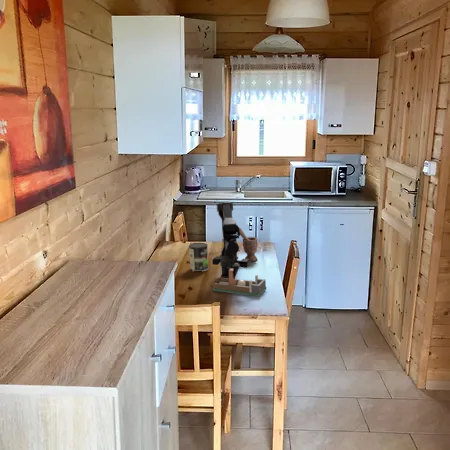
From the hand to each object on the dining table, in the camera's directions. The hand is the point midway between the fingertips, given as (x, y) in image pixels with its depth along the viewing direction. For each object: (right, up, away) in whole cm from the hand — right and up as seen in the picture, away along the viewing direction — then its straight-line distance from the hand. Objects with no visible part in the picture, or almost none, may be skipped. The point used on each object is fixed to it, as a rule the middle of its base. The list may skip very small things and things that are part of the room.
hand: (232, 278), depth 242 cm
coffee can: (-18, +1, +34) cm, 38 cm away
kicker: (-3, -4, +2) cm, 5 cm away
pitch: (+4, -6, 0) cm, 7 cm away
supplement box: (-1, +8, +58) cm, 59 cm away
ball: (+5, -3, -1) cm, 6 cm away
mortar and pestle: (+10, +5, +45) cm, 46 cm away
